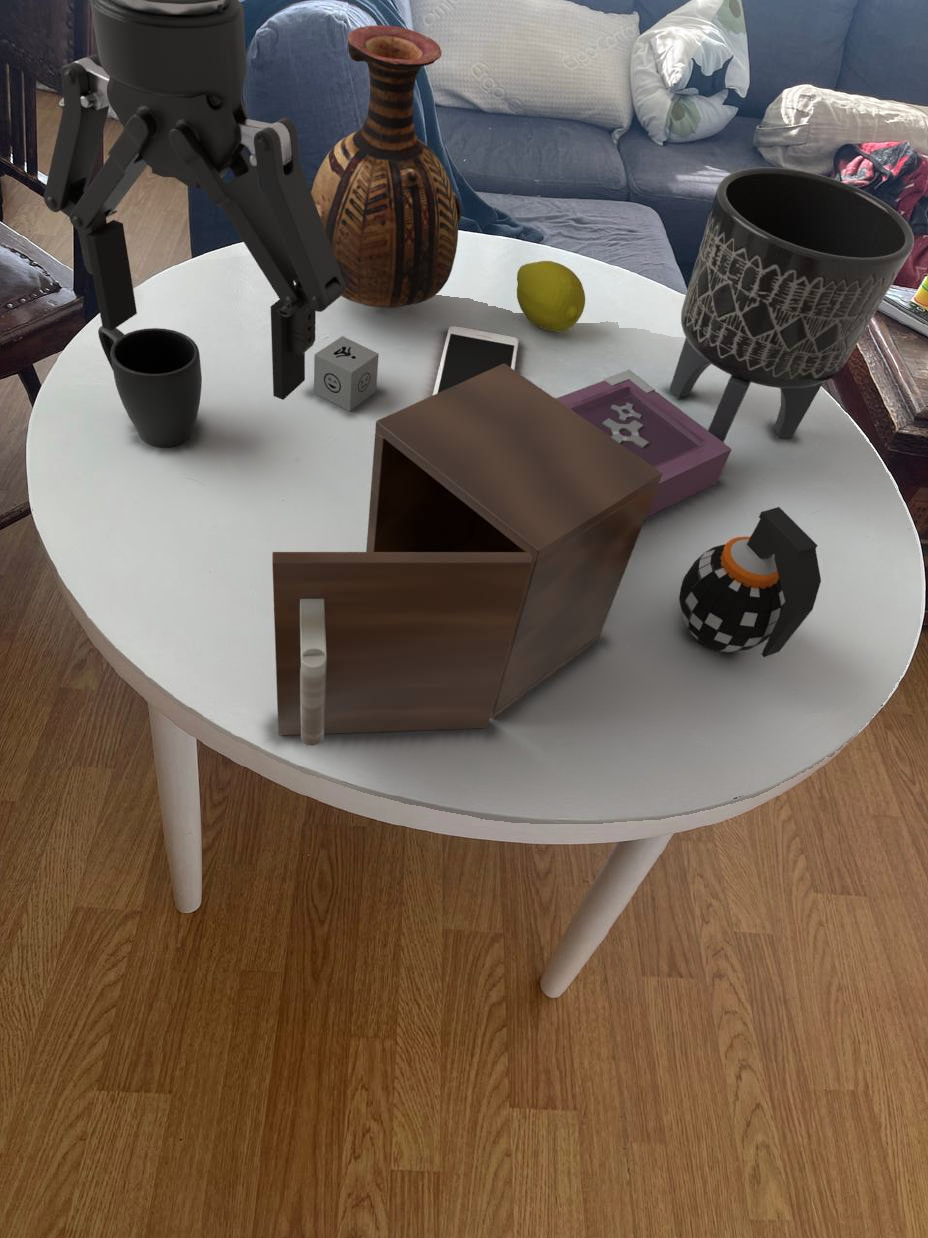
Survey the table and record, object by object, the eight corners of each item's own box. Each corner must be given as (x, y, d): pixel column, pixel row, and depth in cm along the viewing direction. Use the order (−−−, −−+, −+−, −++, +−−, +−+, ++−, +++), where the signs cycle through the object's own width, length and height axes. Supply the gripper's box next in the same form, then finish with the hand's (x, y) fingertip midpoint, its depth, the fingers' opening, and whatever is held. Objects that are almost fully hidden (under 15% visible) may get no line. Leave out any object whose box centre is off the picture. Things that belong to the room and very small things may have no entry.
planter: (775, 386, 116) (872, 177, 96) (824, 488, 103) (948, 270, 83) (628, 374, 113) (697, 156, 93) (660, 477, 100) (748, 249, 80)
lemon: (590, 341, 117) (606, 284, 111) (539, 350, 114) (553, 292, 108) (547, 298, 123) (560, 241, 117) (498, 306, 119) (508, 248, 113)
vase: (439, 267, 124) (470, 16, 102) (475, 342, 113) (518, 79, 91) (282, 268, 118) (278, 3, 96) (304, 347, 107) (305, 68, 85)
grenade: (796, 669, 84) (872, 556, 73) (718, 700, 80) (786, 586, 69) (721, 585, 90) (781, 468, 79) (646, 610, 86) (698, 492, 75)
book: (618, 405, 108) (629, 369, 104) (716, 483, 101) (732, 447, 97) (450, 471, 96) (456, 433, 92) (549, 565, 89) (560, 528, 85)
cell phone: (428, 415, 102) (429, 408, 101) (448, 331, 114) (449, 324, 113) (505, 429, 102) (507, 422, 101) (517, 344, 114) (519, 337, 113)
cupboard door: (498, 789, 71) (549, 629, 56) (278, 800, 68) (271, 633, 53) (485, 718, 75) (530, 551, 61) (278, 725, 72) (272, 551, 58)
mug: (149, 381, 99) (137, 301, 92) (223, 432, 95) (217, 354, 88) (84, 411, 94) (66, 330, 87) (159, 466, 90) (147, 386, 83)
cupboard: (492, 719, 76) (539, 550, 61) (362, 598, 82) (375, 420, 68) (598, 640, 83) (663, 472, 68) (470, 535, 90) (504, 362, 75)
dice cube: (340, 373, 105) (342, 335, 101) (376, 391, 103) (378, 353, 100) (314, 392, 102) (314, 354, 98) (349, 411, 100) (351, 372, 97)
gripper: (420, 38, 46) (390, 389, 62) (20, -86, 50) (89, 271, 66) (346, 78, 41) (335, 448, 57) (-88, -63, 45) (14, 316, 61)
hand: (203, 353), depth 62 cm, fingers open, 13 cm apart
